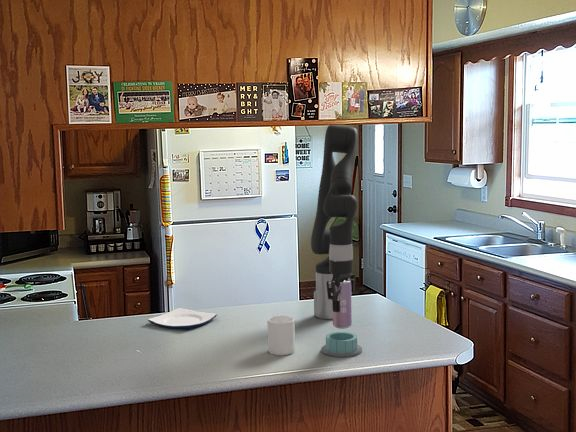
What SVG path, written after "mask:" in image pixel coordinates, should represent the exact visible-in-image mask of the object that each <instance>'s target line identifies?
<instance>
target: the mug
mask: <svg viewBox="0 0 576 432" xmlns="http://www.w3.org/2000/svg"><path fill="white" fill-rule="evenodd" d="M266 323H267V351H268V352H269V354H271V355H274V356H287V355H288V356H289V355H292V354H293V353H294V352H295V350H296V349H295V348H296V345H295V343H296V341H295V340H296V339H295V338H296V337H295V336H296V335H295V332H296V331H295V317H293V316H288V315H276V316H271V317H268V318H267V322H266Z"/></svg>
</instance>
